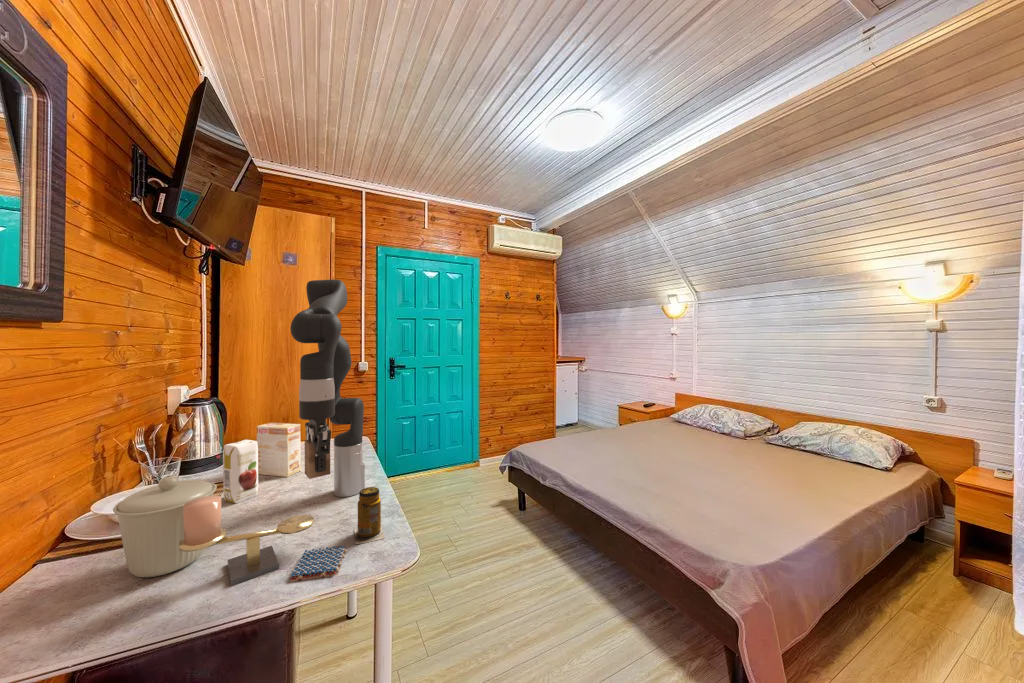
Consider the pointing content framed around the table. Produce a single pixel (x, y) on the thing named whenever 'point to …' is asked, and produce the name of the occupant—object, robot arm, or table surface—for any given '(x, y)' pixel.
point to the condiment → (369, 516)
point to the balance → (254, 549)
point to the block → (310, 461)
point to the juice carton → (240, 471)
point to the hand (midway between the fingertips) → (317, 468)
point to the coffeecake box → (279, 449)
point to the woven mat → (318, 563)
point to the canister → (158, 526)
